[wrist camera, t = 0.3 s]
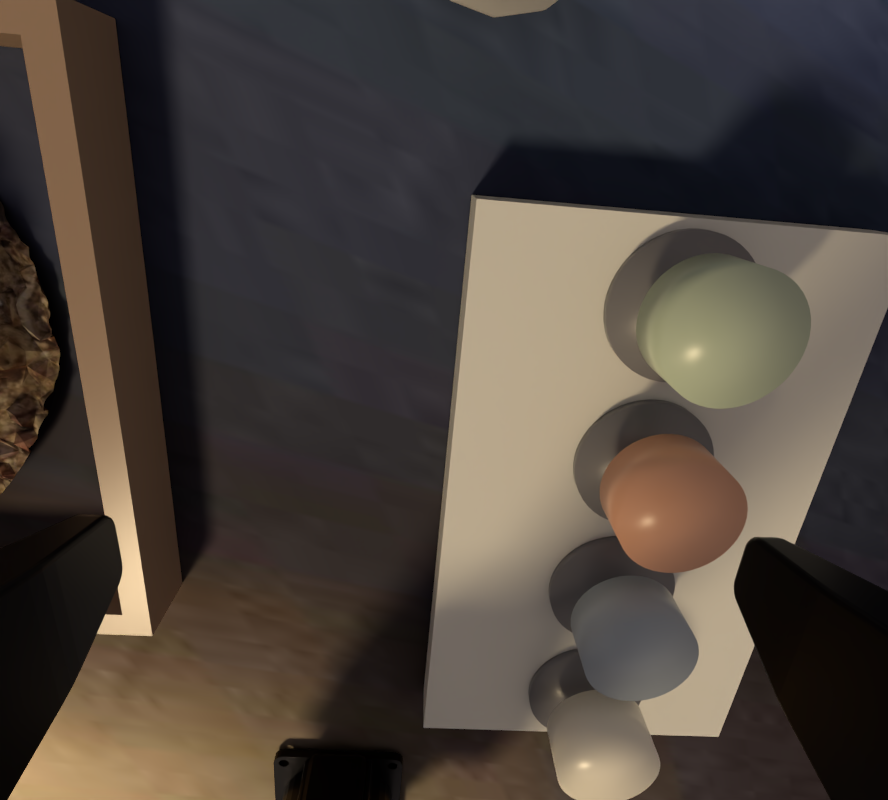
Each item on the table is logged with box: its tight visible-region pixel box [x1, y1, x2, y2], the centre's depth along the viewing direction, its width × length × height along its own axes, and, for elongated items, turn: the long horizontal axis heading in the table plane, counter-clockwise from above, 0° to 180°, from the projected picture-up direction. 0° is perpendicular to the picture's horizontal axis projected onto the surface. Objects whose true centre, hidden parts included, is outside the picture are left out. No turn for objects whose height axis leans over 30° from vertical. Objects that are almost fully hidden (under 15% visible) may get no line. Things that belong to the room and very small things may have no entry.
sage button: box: [636, 253, 811, 409], centre depth 16 cm, size 4×4×2 cm
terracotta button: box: [600, 434, 748, 573], centre depth 18 cm, size 4×4×2 cm
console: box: [423, 195, 888, 737], centre depth 23 cm, size 23×14×2 cm, turn 175°
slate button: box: [571, 576, 699, 701], centre depth 21 cm, size 4×4×2 cm
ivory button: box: [547, 690, 660, 800], centre depth 23 cm, size 4×4×2 cm
